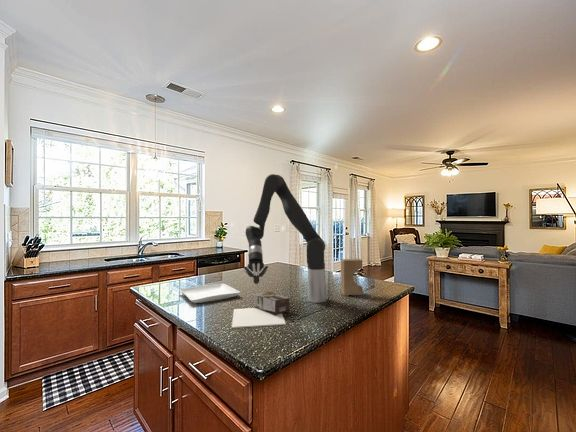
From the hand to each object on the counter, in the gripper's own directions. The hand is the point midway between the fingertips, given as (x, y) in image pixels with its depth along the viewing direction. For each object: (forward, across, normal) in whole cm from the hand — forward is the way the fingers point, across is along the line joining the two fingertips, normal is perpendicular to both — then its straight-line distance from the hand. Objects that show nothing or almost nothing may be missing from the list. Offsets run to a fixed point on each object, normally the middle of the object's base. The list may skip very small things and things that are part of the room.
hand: (256, 283), depth 137 cm
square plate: (-8, -26, +26) cm, 38 cm away
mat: (+18, 0, -1) cm, 18 cm away
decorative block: (-1, +55, +18) cm, 58 cm away
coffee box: (+5, +2, +6) cm, 8 cm away
